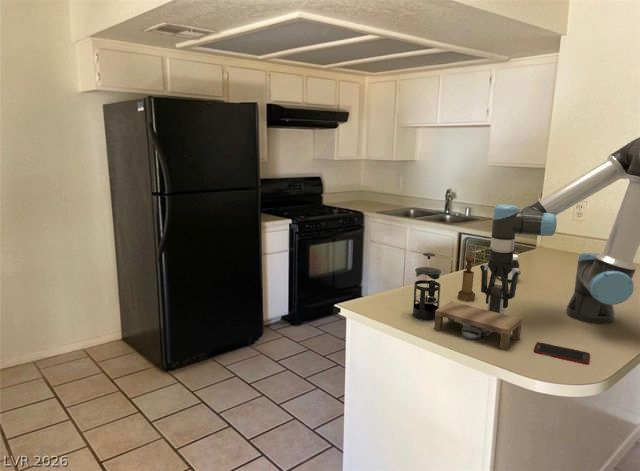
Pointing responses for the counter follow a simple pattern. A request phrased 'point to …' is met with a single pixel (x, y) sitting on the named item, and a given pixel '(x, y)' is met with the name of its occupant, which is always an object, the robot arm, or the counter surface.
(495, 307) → the scraper
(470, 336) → the steel token
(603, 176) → the robot arm
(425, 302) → the french press
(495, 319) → the low bench
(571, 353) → the cell phone
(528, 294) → the counter surface
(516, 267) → the spread jar
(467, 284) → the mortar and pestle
